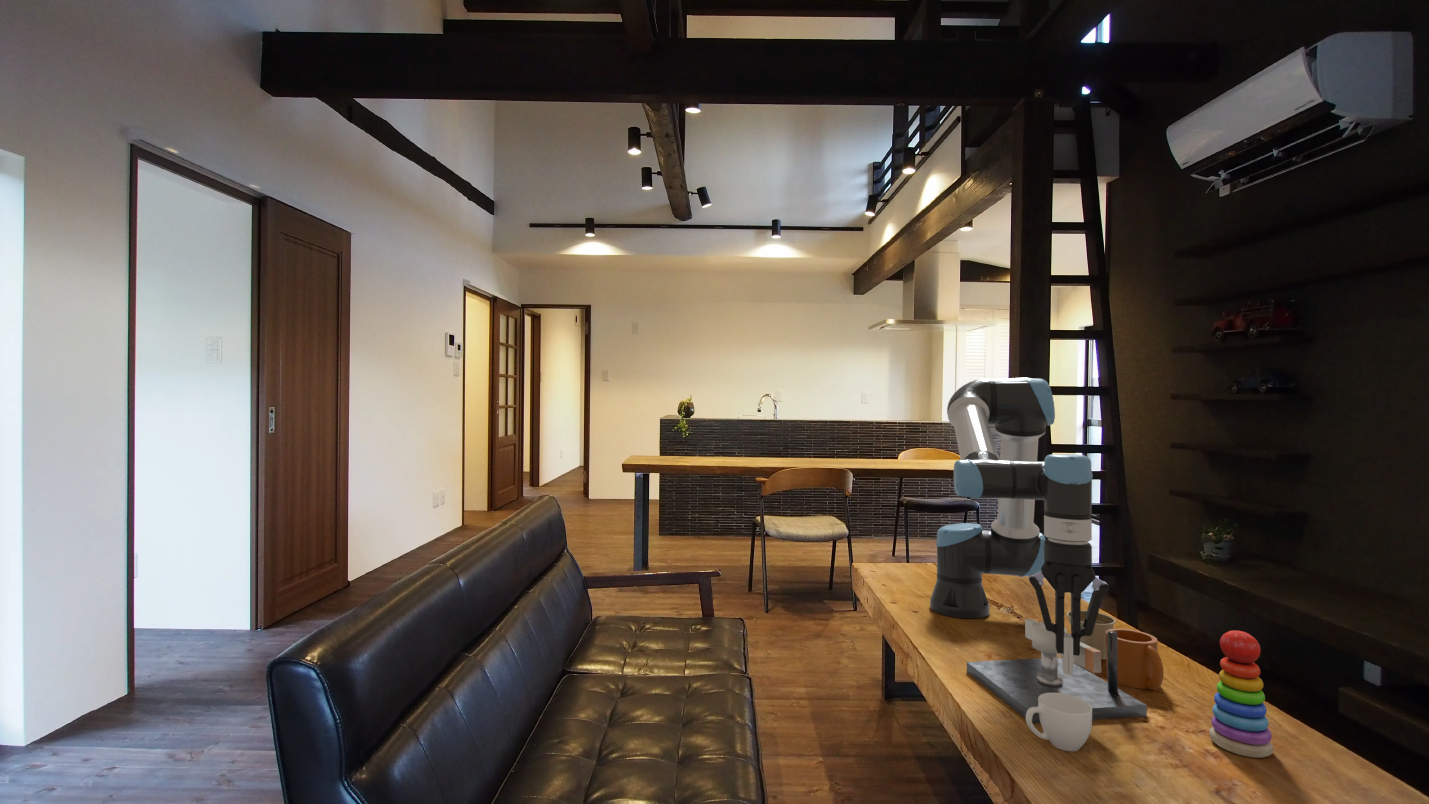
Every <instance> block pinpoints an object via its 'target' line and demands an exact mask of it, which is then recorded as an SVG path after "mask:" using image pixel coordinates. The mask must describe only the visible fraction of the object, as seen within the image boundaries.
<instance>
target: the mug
mask: <svg viewBox="0 0 1429 804" xmlns="http://www.w3.org/2000/svg"><path fill="white" fill-rule="evenodd" d="M1107 631H1114V632H1117V654H1118V685H1121V686H1126V687H1129V688H1134V689H1141V690H1150V691H1157V690H1158V689H1159V688H1160V687H1161V686H1162V684H1163V682H1164V677H1165V676H1164V675H1165V674H1164V671H1165V670H1164V666H1163V665H1164V664H1163V661H1162V659H1161V656H1160V654H1159V653H1158V651H1159V650H1158V638H1157V637H1155V636H1154V635H1152V634H1150V633H1147V632H1144V631H1143V632H1142V631H1140V630H1136V629H1129V628H1113V629H1109V630H1107ZM1107 631H1106V661H1105V663H1106V669H1105V670H1106V677H1107V678H1108V662H1107Z"/></svg>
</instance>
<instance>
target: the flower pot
mask: <svg viewBox="0 0 1429 804" xmlns="http://www.w3.org/2000/svg"><path fill="white" fill-rule="evenodd" d="M1086 613H1087V610H1082V609H1081V627H1083V623H1084V620H1085V616H1086ZM1066 617H1068V622H1069V624H1071V610H1069V611H1067V612H1066ZM1116 621H1117V620H1116V618H1114V617H1112V616H1111V615H1108V614H1103V613H1101V612H1098V615H1097V619H1096V622H1095V625H1094V629H1093V632H1092V635H1091V636H1083V637H1081V639H1080V642H1081V643H1084V644H1086V645H1088V646H1090V647H1093V648H1095V649H1097V650H1099V651H1101V661H1102V660H1103V661H1105V660H1106V631H1107V630H1109V629H1114V625H1115V624H1116V623H1117V622H1116Z"/></svg>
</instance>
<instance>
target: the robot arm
mask: <svg viewBox="0 0 1429 804" xmlns="http://www.w3.org/2000/svg"><path fill="white" fill-rule="evenodd" d="M1055 409H1056V408H1055V401H1054V396H1053V392H1052V389H1051V386H1050V384H1049V383H1048V381H1047V380H1046V379H1044V378H1031V377H1015V378H1014V377H1012V378H1008V377H1007V378H980V379H975V380H972V381H969V382H968V383H965V384H963V385H962V386H961V387H959V388H958V389H957V390H956V391H955V392H954V393H953V394H952V396H951V397H950V399H949V401H948V403H947V408H946V412H947V413H946V415H947V419H948V421H949V423H950V425H951V426H952V427H953V428H954V432H955V438H956V443H957V448H958V453H959V454H958V455H959V457H960V459H958V460H956V461H955V462H954V464H953V488H954V493H955V495H957V496H958V497H965V498H966V497H967V498H973V499H998V504H997V505H998V506H997V518H996V519H995V520H993V521H992V522H991V526H990V529H983V527H982V525H981V524H979V523H972V522H971V523H970V522H969V523H968V522H965V523H964V522H963V523H951V524H947V525H946V524H945V525H944V526H941V527H939V529H938V530H937V533H936V542H935V546H936V582H935V584H934V587H933V590H932V593H931V596H930V599H929V600H930V601H929V602H930V609H931V610H932V611H933V612H935V613H937V614H940V615H944V616H946V617H950V618H951V617H952V618H958V619H981V618H985V617H988V616H989V615H990V602H989V600H988V597H987V594H986V591H985V588H984V585H983V574H984V575H985V574H987V575H997V576H998V575H999V576H1001V575H1002V576H1011V577H1012V576H1016V577H1020V578H1023V577H1028V581H1029V583H1030V584H1031V586H1032V587H1033V589H1034V590H1035V593H1036V594H1035V595H1036V598H1037V602H1038V605H1039V609H1040V613H1041V617H1042V621H1043V622H1044V625H1045V628H1046V630H1047V631H1051V632H1053V633H1055V634H1056V650H1057V652H1058V653H1061V654H1062V656H1061V657H1062V669H1063V672H1064V674H1067V675H1073V663H1074V662H1073V655H1076V656H1079V654H1080V639H1081V637H1083V636H1091V635H1092V632H1093V629H1094V625H1095V622H1096V619H1097V615H1098V613H1100V612H1099V611H1100V607H1101V604H1102V601H1103V598H1104V596H1105V595H1106V594H1107V593H1108V592H1109V591H1110V588H1111V587H1110V585H1109V584H1108V583H1107V582H1106V581H1105V580H1101V579H1100V578H1098V577H1097V576H1096V573H1095V571H1094V569H1093V546H1092V544H1091V543H1090V541H1092V540H1093V533H1092V532H1093V531H1092V527H1093V526H1092V524H1093V523H1092V515H1093V510H1092V509H1093V507H1092V505H1093V503H1092V502H1093V501H1092V500H1093V499H1092V498H1093V496H1092V495H1093V485H1092V484H1093V477H1094V475H1093V472H1092V471H1093V469H1092V461H1091V459H1090V457H1088V456H1086V455H1082V454H1081V455H1080V454H1066V453H1063V454H1062V453H1055V454H1054V453H1053V454H1047V455H1046V456H1045V458H1044V460H1042V461H1038V451H1039V439H1040V438H1041V437H1042V436H1044V435H1045V434H1046V432H1047V431H1046V429H1047V426H1051V425H1053V424H1054V423H1055V419H1056V410H1055ZM990 425H994V431H995V432H996V433H997V434H998V435H999V436H1000V454H999V453H998V450H997V447H996V443H995V441H994V437H993V433H992V431H991V427H990ZM999 455H1000V456H999ZM1035 501H1043V503H1044V505H1043V506H1044V513H1043V514H1044V515H1043V523H1044V524H1043V533H1042V532H1040V528H1039V526H1038V525H1037V524H1036V523H1035V522H1034V519H1035V504H1036V503H1035ZM1046 538H1047V539H1046ZM1044 578H1045V580H1046V581H1047V582H1048V583H1049V585H1050V587H1052V589H1053V590H1054V598H1055V600H1054V603H1055V604H1054V606H1055V607H1054V611H1055V612H1054V616H1055V617H1054V620H1055V621H1054V622H1055V623H1054V622H1052V619H1051V615H1050V612H1049V607H1048V604H1047V601H1046V596H1045V592H1044V589H1043V585H1044V583H1045V582H1044ZM1091 584H1092V585H1091ZM1090 585H1091V588H1092V589H1093V591H1092V593H1091V596H1090V600H1089V603H1088V606H1087V610H1086V611H1087V613H1086V616H1085V620H1084V623H1083V627H1081V610H1082V609H1081V606H1082V605H1081V600H1082V593H1083V592H1084V591H1085V590H1086V589H1087V588H1088V587H1089V586H1090ZM1065 593H1069V594H1070V611H1071V623H1070V633H1069V632H1068V633H1064V627H1065V596H1066V595H1065Z"/></svg>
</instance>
